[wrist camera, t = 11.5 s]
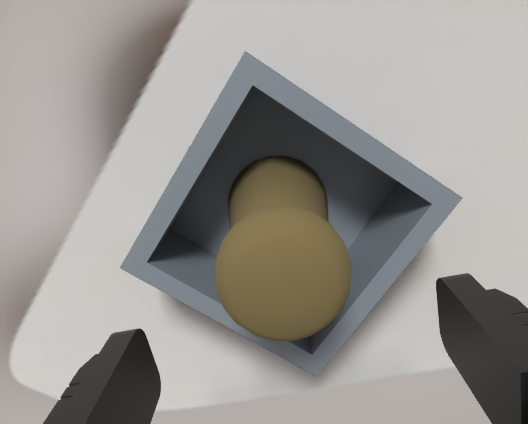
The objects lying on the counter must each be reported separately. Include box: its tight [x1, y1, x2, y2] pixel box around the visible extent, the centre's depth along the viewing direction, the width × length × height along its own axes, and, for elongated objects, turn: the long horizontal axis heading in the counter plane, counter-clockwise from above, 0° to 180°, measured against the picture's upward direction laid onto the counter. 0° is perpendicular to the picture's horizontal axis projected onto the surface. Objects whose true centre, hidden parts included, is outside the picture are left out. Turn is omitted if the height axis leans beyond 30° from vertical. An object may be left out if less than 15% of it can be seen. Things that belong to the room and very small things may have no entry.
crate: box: [120, 51, 462, 376], centre depth 22 cm, size 12×12×6 cm
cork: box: [215, 156, 352, 341], centre depth 19 cm, size 6×6×11 cm
